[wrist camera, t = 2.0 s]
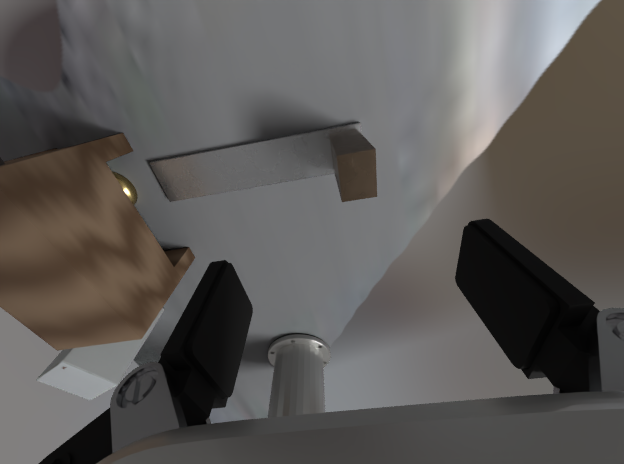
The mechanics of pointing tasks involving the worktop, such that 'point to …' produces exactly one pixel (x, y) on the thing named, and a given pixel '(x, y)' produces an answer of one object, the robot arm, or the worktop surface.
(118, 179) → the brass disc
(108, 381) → the supplement box
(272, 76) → the worktop surface
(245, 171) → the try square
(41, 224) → the cabinet
